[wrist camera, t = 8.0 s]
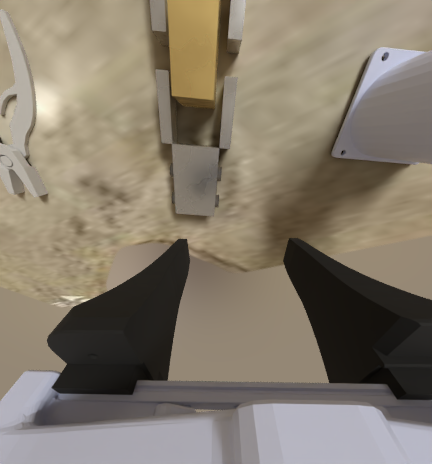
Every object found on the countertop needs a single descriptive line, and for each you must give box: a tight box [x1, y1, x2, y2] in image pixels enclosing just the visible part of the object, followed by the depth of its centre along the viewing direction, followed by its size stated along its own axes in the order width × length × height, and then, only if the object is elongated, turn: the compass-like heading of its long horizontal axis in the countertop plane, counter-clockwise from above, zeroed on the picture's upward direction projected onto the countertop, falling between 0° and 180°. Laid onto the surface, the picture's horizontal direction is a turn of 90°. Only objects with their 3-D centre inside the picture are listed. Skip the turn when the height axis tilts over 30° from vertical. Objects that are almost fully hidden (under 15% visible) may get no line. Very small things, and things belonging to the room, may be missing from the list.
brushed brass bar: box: [167, 0, 221, 109], centre depth 12 cm, size 3×6×4 cm, turn 175°
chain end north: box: [155, 69, 238, 216], centre depth 16 cm, size 6×12×2 cm, turn 176°
